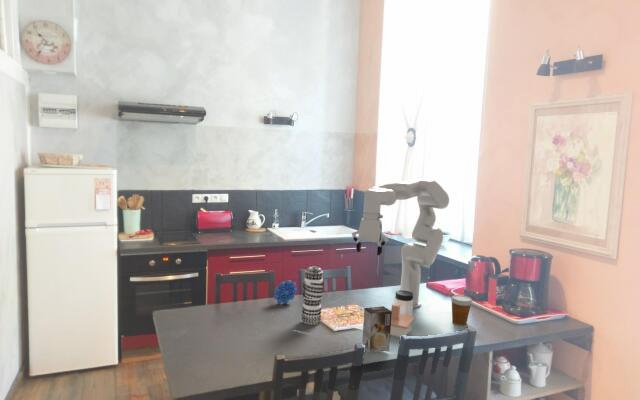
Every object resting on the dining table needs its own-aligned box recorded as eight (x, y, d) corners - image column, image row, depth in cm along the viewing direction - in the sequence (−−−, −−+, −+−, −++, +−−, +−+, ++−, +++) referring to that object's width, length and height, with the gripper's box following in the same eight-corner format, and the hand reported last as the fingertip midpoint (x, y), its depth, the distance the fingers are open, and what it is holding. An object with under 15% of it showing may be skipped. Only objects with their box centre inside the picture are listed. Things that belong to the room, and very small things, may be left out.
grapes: (293, 300, 238) (295, 277, 236) (297, 304, 231) (299, 281, 230) (271, 301, 234) (272, 278, 232) (274, 306, 227) (276, 282, 226)
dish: (384, 324, 213) (385, 313, 212) (410, 329, 208) (411, 318, 207) (376, 333, 202) (377, 322, 201) (404, 339, 197) (405, 328, 196)
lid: (383, 312, 213) (385, 297, 213) (414, 318, 208) (415, 303, 207) (374, 322, 201) (375, 306, 200) (407, 329, 195) (408, 312, 194)
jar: (401, 322, 217) (403, 296, 215) (389, 316, 223) (391, 291, 222) (415, 319, 222) (417, 294, 220) (403, 313, 228) (405, 289, 227)
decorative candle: (324, 321, 212) (328, 267, 209) (315, 328, 203) (319, 271, 200) (306, 317, 215) (309, 263, 213) (297, 323, 207) (300, 268, 204)
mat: (349, 316, 220) (349, 314, 220) (378, 322, 215) (378, 320, 215) (338, 325, 207) (338, 324, 207) (369, 332, 202) (369, 331, 202)
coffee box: (381, 344, 191) (384, 305, 189) (389, 350, 185) (392, 311, 183) (361, 346, 187) (364, 307, 186) (369, 353, 182) (372, 313, 180)
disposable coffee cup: (445, 322, 220) (447, 297, 218) (454, 317, 227) (457, 293, 225) (464, 328, 213) (466, 302, 212) (473, 323, 220) (476, 298, 219)
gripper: (392, 217, 215) (389, 254, 217) (356, 213, 222) (353, 249, 224) (387, 219, 208) (384, 257, 210) (350, 215, 215) (348, 252, 217)
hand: (368, 253), depth 217 cm, fingers open, 9 cm apart
